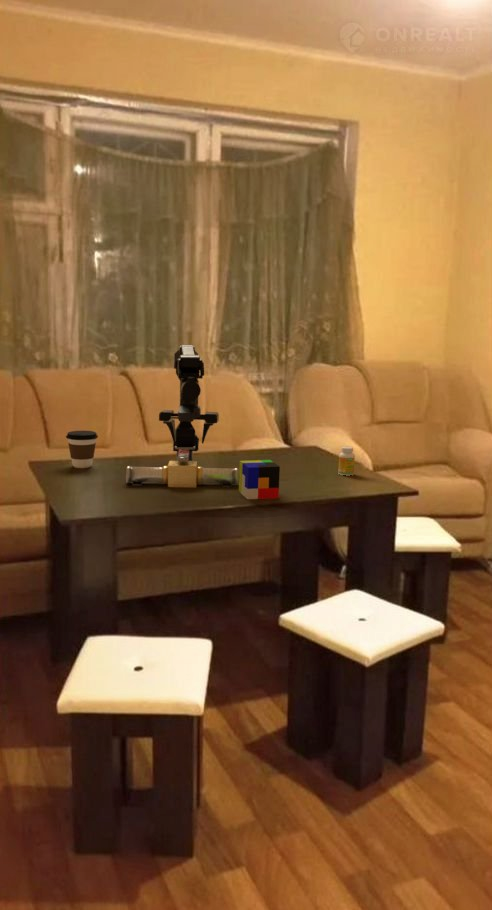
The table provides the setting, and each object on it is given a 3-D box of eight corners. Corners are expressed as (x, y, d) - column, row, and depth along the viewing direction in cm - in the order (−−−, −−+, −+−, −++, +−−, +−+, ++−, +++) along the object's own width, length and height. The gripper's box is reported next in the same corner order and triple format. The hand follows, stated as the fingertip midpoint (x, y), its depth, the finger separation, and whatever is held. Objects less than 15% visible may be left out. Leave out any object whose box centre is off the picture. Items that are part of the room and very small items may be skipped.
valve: (127, 480, 261) (127, 458, 260) (237, 482, 263) (237, 460, 262) (125, 486, 253) (125, 464, 252) (238, 488, 255) (238, 466, 254)
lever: (188, 463, 255) (188, 458, 255) (176, 463, 255) (177, 458, 255) (189, 454, 270) (189, 449, 270) (178, 453, 270) (178, 449, 270)
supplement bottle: (346, 476, 276) (347, 449, 274) (335, 473, 280) (336, 446, 279) (356, 475, 280) (358, 447, 278) (345, 472, 284) (347, 445, 282)
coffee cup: (91, 470, 275) (91, 436, 272) (61, 468, 276) (61, 434, 274) (102, 464, 285) (102, 431, 283) (73, 462, 287) (72, 429, 285)
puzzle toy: (247, 499, 242) (248, 467, 240) (238, 491, 251) (239, 460, 249) (278, 498, 245) (279, 466, 243) (269, 490, 254) (270, 459, 252)
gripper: (155, 397, 247) (155, 446, 250) (215, 399, 245) (214, 449, 249) (162, 392, 257) (161, 439, 261) (219, 394, 256) (218, 442, 260)
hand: (188, 442), depth 257 cm, fingers open, 9 cm apart
